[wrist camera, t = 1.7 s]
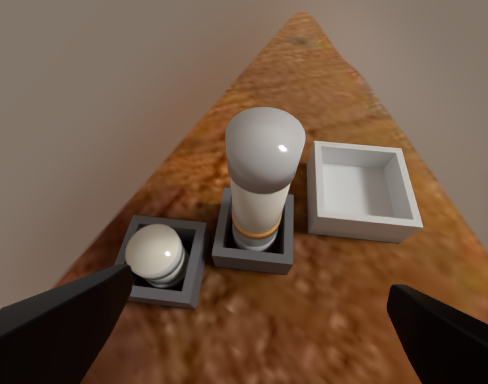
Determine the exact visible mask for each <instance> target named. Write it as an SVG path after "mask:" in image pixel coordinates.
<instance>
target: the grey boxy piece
mask: <svg viewBox="0 0 488 384" xmlns="http://www.w3.org/2000/svg"><path fill="white" fill-rule="evenodd" d="M152 224H163V225H167V226H169V227H171V228H172V229H173V230H174V231H175V232H176V233H177V235H178V236H179V238H180V240H181V241H187V242H193V245H192V250H191V254H190V258H189V263H188V267H187V271H186V276H185V280H184V284H183V289H182V292H180V291H172V290H164V289H156V288H148V287H140V286H134V285H135V282H136V279H137V276H138V275H137V274H136V273H134V272H133V271H132V292H131V294H130V296H129V298H128V300H127V301H133V302H141V303H149V304H157V305H164V306H172V307H180V308H188V309H196V307H197V302H198V297H199V292H200V287H201V282H202V277H203V272H204V267H205V261H206V256H207V251H208V246H209V241H210V234H209V230H208V226H207V223H205V222H196V221H187V220H177V219H168V218H159V217H150V216H140V215H133V217H132V219H131V222H130V225H129V227H128V230H127V232H126V235H125V238H124V240H123V243H122V245H121V248H120V251H119V253H118V256H117V258H116V261H115V264H114V265H117V264H127V263H126V259H125V251H126V247H127V244H128V242H129V240H130V239H131V237H132V236H133V235H134V234H135V233H136V232H137V231H138V230H140V229H141V228H143V227H145V226H148V225H152Z"/></svg>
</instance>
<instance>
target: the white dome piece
mask: <svg viewBox="0 0 488 384" xmlns="http://www.w3.org/2000/svg"><path fill="white" fill-rule="evenodd" d="M189 258H190V256H189V254H188V252H187V251H186V249H185V248H184V246H183V244H182V242H181V240H180V238H179V236H178V235H177V233H176V232H175V231H174V230H173V229H172V228H171V227H169V226H167V225H163V224H152V225H148V226H145V227H143V228H141V229H140V230H138V231H137V232H136V233H135V234H134V235H133V236H132V237H131V239H130V240H129V242H128V244H127V247H126V251H125V259H126V263H127V265H130V266H131V269H132V271H133V272H134V273H136V274H137V275H139V276H140V277H142V278H144V279H145V280H146V281H147V282H148V283H150V284H151V285H153V286H154V287H156V288H158V289H164V290H168V289H172V288H175V287H177V286H179V285H180V284H181V283H183V282H184V280H185V276H186V271H187V267H188V263H189Z"/></svg>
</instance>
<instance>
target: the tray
mask: <svg viewBox="0 0 488 384" xmlns="http://www.w3.org/2000/svg"><path fill="white" fill-rule="evenodd" d="M307 206H308V233H309V234H318V235H327V236H336V237H346V238H355V239H364V240H373V241H382V242H392V243H401V242H402V241H404V240H405V239H407V238H408V237H410V236H411V235H413V234H414V233H416V232H417V231H419V230H420V229H422V228H423V225H422V221H421V218H420V214H419V210H418V207H417V203H416V200H415V196H414V192H413V189H412V185H411V182H410V178H409V175H408V171H407V167H406V164H405V160H404V157H403V153H402V150H401V149H400V148H389V147H377V146H366V145H355V144H344V143H332V142H321V141H314V144H313V147H312V149H311V152H310V155H309V158H308V161H307Z"/></svg>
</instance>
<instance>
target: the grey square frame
mask: <svg viewBox="0 0 488 384" xmlns="http://www.w3.org/2000/svg"><path fill="white" fill-rule="evenodd" d="M231 215H232V196H231V188H224V191H223V196H222V202H221V207H220V213H219V218H218V223H217V229H216V234H215V240H214V245H213V250H212V258H213V261H214V264H215V266H217V267H225V268H234V269H242V270H251V271H259V272H268V273H276V274H285V275H287V274H288V272H289V270H290V269H291V267H292V265H293V216H294V195H293V194H287V197H286V201H285V204H284V208H283V211H282V216H281V225H280V249H279V254H276V253H267V252H259V251H250V250H241V249H232V248H226V247H227V240H228V234H229V227H230V221H231Z"/></svg>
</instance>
